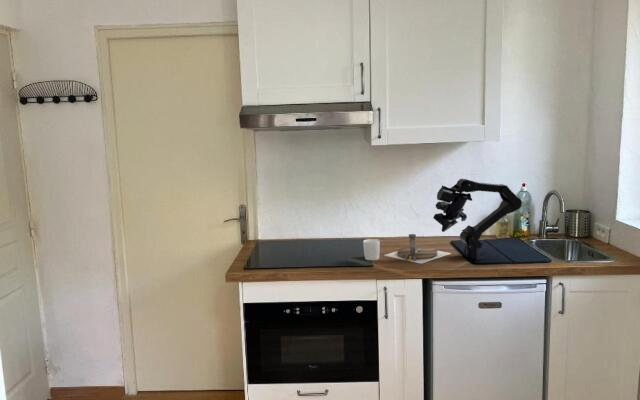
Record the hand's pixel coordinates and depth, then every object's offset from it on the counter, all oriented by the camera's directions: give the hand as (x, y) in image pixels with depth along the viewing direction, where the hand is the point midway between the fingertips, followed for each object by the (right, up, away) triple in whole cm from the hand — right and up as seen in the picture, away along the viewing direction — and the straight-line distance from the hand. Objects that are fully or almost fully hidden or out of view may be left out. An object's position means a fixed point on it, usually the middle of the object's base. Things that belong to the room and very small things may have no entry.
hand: (442, 231), depth 239 cm
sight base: (-11, -13, +4) cm, 18 cm away
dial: (-11, -11, +4) cm, 17 cm away
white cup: (-33, -15, +2) cm, 37 cm away
